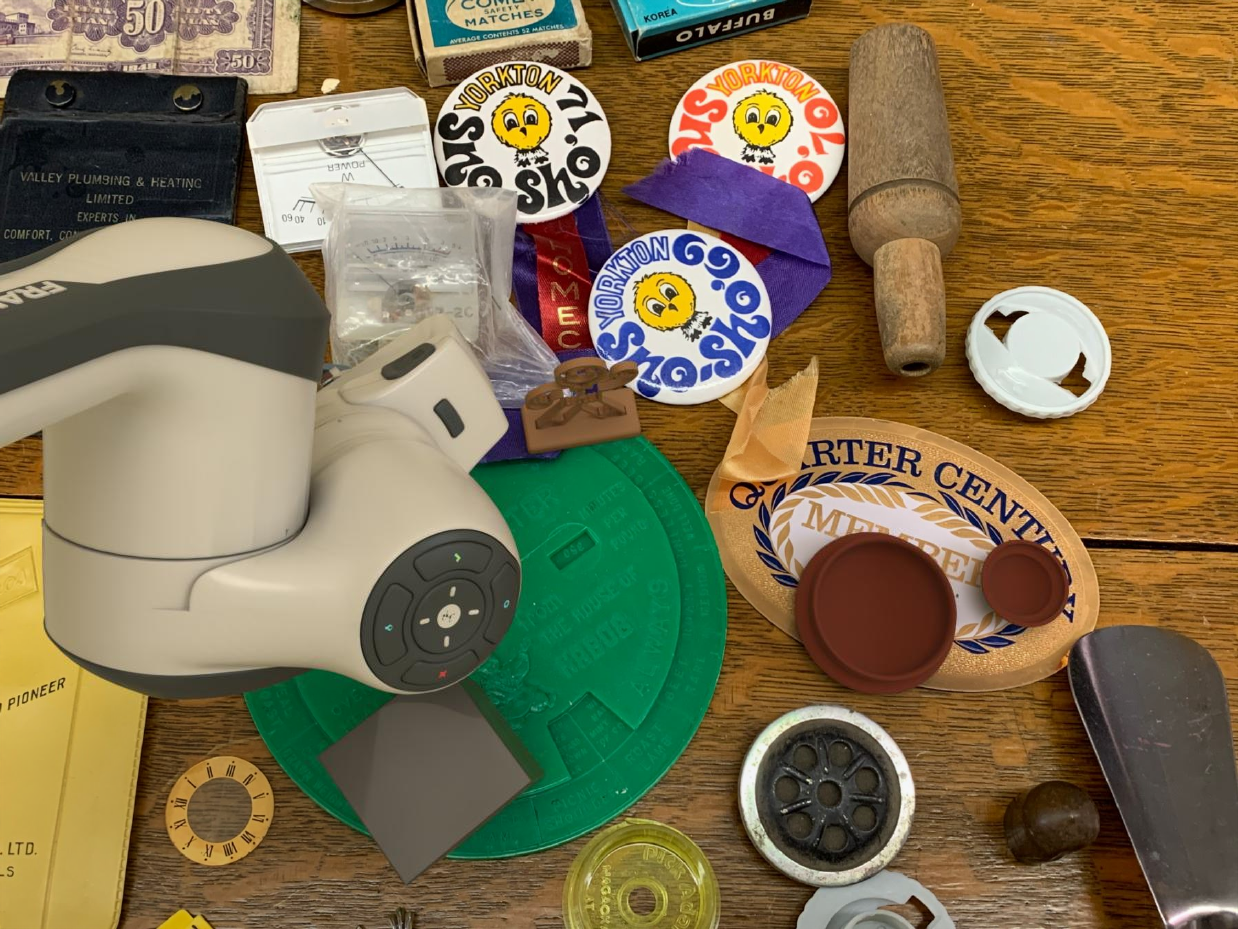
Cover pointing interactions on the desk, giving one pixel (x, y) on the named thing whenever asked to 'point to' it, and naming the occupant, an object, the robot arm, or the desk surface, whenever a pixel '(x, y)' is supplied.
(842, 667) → the pottery
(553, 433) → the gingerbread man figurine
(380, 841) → the stand
